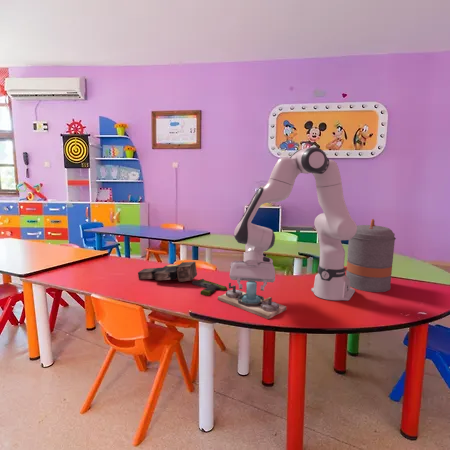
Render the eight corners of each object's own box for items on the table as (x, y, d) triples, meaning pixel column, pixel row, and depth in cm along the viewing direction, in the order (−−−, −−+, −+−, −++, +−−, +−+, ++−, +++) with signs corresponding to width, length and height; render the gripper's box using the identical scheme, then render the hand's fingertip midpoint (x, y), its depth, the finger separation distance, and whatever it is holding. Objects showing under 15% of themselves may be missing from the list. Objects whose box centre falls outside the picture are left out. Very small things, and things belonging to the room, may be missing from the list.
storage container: (349, 275, 186) (353, 215, 181) (392, 282, 175) (398, 218, 169) (340, 286, 167) (345, 219, 162) (389, 295, 156) (396, 223, 150)
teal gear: (249, 296, 147) (250, 278, 146) (264, 301, 142) (264, 282, 141) (238, 301, 142) (238, 282, 140) (252, 306, 136) (253, 287, 135)
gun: (180, 288, 162) (202, 282, 174) (207, 297, 150) (228, 290, 161) (180, 283, 162) (202, 277, 173) (207, 292, 150) (229, 285, 161)
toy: (136, 287, 170) (190, 284, 164) (133, 271, 169) (188, 267, 163) (149, 278, 186) (199, 275, 179) (147, 263, 185) (197, 259, 178)
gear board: (236, 292, 156) (237, 276, 155) (286, 309, 137) (287, 291, 136) (217, 299, 147) (218, 282, 146) (268, 319, 128) (268, 299, 126)
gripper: (230, 256, 147) (226, 284, 139) (275, 259, 144) (275, 287, 136) (231, 263, 152) (228, 290, 144) (275, 266, 149) (274, 294, 141)
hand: (251, 289), depth 140 cm, fingers open, 8 cm apart
